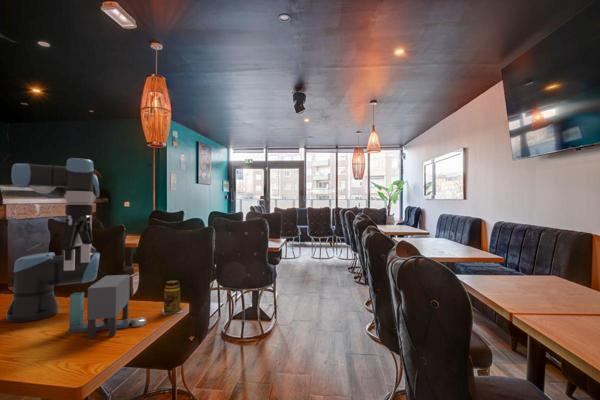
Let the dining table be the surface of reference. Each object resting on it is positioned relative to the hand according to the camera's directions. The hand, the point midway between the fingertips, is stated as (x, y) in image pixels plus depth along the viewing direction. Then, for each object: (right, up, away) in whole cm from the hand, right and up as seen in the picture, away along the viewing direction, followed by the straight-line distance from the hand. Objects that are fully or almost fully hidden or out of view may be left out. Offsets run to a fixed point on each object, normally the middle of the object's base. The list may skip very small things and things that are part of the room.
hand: (77, 266), depth 104 cm
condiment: (+24, -23, +19) cm, 38 cm away
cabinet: (+10, -22, +2) cm, 24 cm away
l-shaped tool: (+7, -22, +1) cm, 23 cm away
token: (+18, -22, +5) cm, 29 cm away
